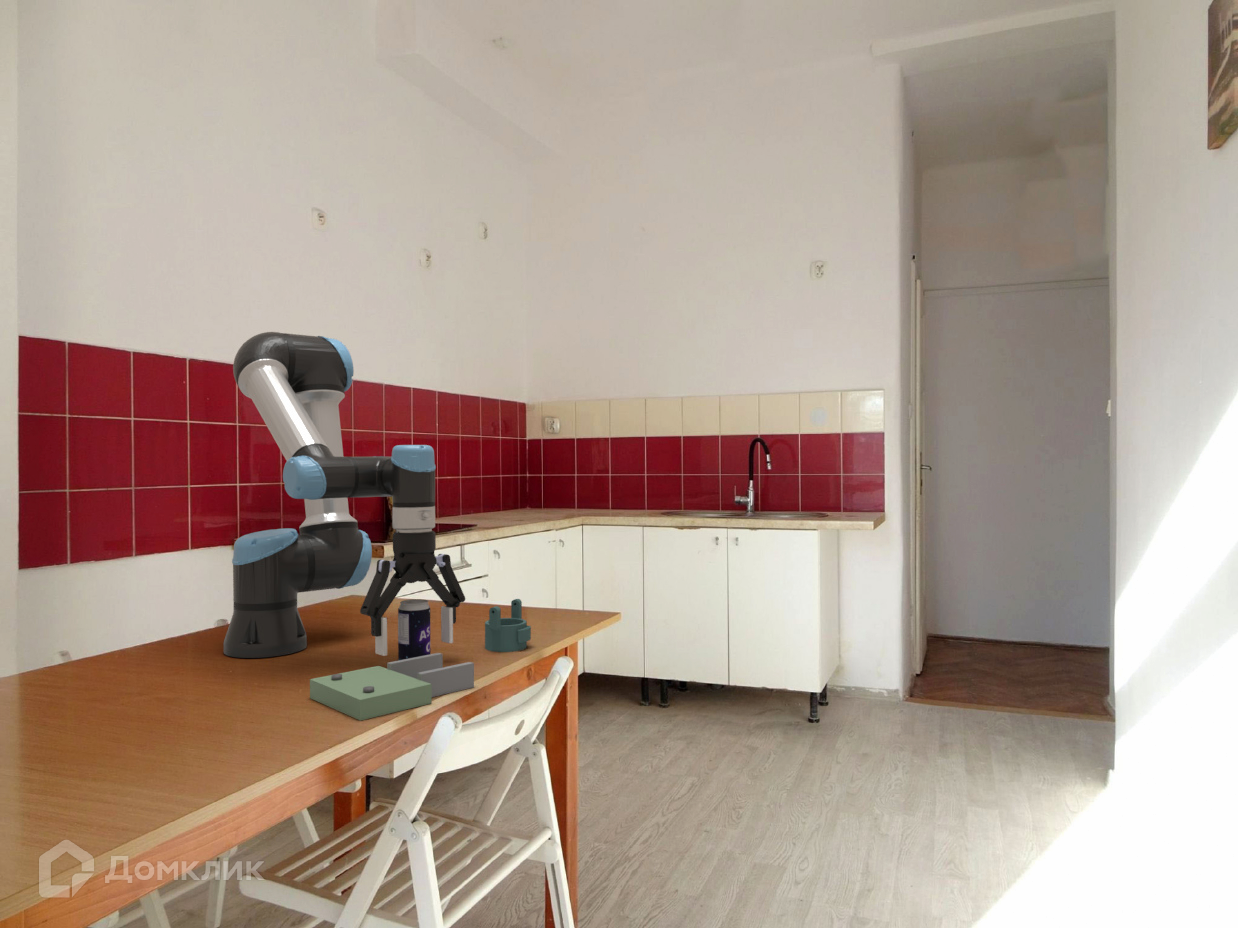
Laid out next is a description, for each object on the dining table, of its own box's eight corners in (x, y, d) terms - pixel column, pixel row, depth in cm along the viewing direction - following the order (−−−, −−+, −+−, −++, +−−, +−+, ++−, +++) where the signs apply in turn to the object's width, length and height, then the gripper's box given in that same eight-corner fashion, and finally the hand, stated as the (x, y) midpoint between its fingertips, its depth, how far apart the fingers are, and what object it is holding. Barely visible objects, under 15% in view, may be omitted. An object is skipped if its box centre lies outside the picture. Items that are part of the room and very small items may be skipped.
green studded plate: (309, 698, 134) (309, 672, 134) (429, 672, 150) (429, 650, 149) (360, 720, 123) (360, 692, 123) (484, 690, 138) (484, 666, 138)
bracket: (489, 654, 164) (490, 607, 164) (481, 643, 172) (481, 599, 172) (534, 650, 167) (535, 605, 167) (524, 641, 176) (524, 597, 175)
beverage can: (422, 672, 150) (422, 604, 150) (392, 670, 151) (392, 603, 151) (435, 664, 155) (435, 599, 155) (406, 663, 156) (406, 598, 156)
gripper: (361, 536, 141) (362, 663, 141) (483, 527, 159) (484, 640, 159) (339, 533, 146) (340, 656, 147) (459, 525, 164) (460, 634, 164)
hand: (415, 648), depth 153 cm, fingers open, 13 cm apart
